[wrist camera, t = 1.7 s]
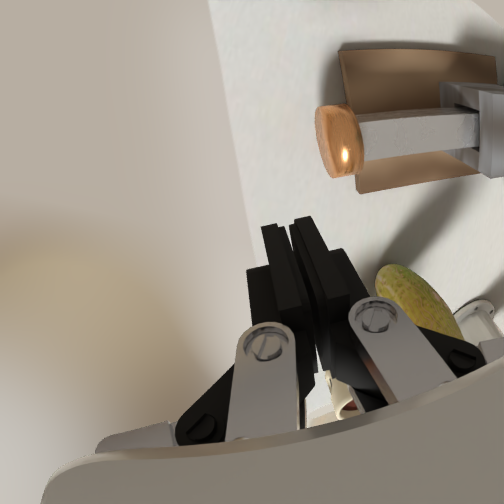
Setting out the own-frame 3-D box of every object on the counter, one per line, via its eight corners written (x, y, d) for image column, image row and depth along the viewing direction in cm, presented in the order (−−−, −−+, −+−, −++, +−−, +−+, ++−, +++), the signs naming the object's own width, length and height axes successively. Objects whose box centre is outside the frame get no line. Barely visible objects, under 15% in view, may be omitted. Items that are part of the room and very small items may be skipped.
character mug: (295, 318, 40) (315, 405, 29) (342, 288, 38) (378, 373, 27) (334, 355, 45) (356, 430, 34) (375, 331, 43) (407, 404, 32)
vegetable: (366, 252, 35) (448, 397, 18) (412, 241, 35) (507, 368, 18) (366, 291, 38) (430, 429, 21) (409, 280, 38) (484, 404, 21)
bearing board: (490, 167, 30) (540, 199, 22) (356, 189, 31) (395, 234, 23) (488, 55, 22) (546, 66, 15) (337, 51, 23) (383, 46, 16)
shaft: (461, 145, 26) (496, 163, 21) (320, 165, 27) (341, 189, 22) (459, 92, 23) (497, 102, 18) (311, 103, 24) (331, 112, 19)
